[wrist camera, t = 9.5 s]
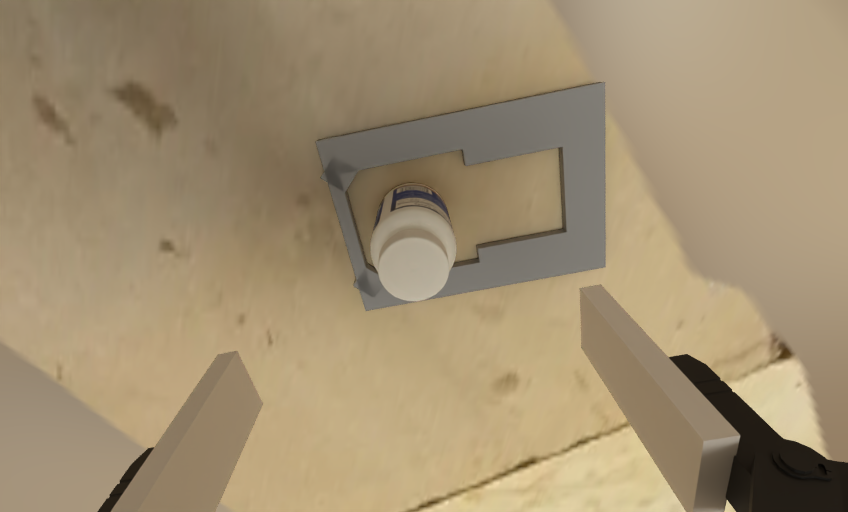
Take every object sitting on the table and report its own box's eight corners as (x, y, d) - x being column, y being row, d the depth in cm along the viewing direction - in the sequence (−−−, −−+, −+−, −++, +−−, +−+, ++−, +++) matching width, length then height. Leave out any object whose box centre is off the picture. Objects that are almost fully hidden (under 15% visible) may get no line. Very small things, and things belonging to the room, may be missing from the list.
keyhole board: (312, 141, 28) (309, 142, 27) (599, 82, 27) (604, 82, 26) (362, 306, 34) (360, 311, 33) (601, 263, 33) (605, 267, 32)
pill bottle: (412, 260, 32) (412, 329, 23) (363, 215, 30) (344, 270, 21) (461, 216, 31) (482, 271, 22) (413, 166, 29) (415, 204, 20)
